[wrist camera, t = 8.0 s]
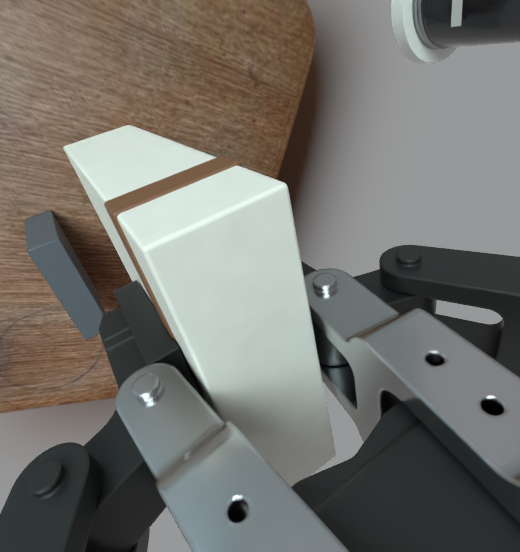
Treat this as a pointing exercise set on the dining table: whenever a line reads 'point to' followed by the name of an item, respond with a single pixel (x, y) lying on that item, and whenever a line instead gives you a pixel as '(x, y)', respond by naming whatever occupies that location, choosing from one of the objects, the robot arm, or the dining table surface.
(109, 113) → the dining table surface
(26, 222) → the grey parallel blocks
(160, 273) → the white box
